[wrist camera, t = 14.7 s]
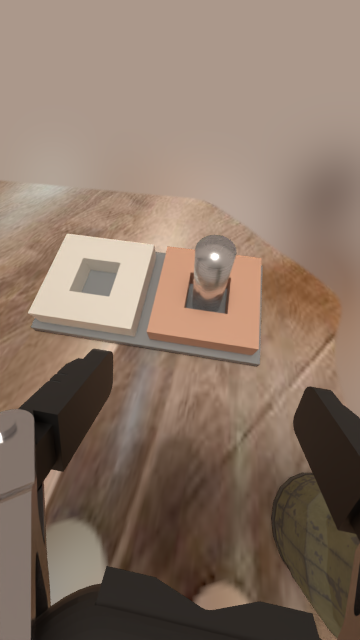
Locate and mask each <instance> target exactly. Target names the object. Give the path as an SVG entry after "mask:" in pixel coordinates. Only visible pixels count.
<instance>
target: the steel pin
mask: <svg viewBox="0 0 360 640" xmlns="http://www.w3.org/2000/svg"><path fill="white" fill-rule="evenodd" d="M235 257H236V247H235V245H234V244H233V242H232V241H231V240H229V239H228V238H226V237H224V236H220V235H210V236H206V237H204V238H202V239H201V240H200V241H199V242H198V243H197V245H196V248H195V263H194V281H193V300H192V305H193V308H194V309H197V310H203V311H210V312H217V311H218V310H219V308H220V305H221V302H222V298H223V295H224V292H225V289H226V286H227V282H228V279H229V276H230V273H231V270H232V267H233V263H234V260H235Z"/></svg>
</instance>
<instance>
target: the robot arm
mask: <svg viewBox="0 0 360 640" xmlns="http://www.w3.org/2000/svg"><path fill="white" fill-rule="evenodd" d="M112 384H113V353H112V352H111V351H105V350H99V349H92V350H91V351H90V352H89V353H88V354H87V355H86V356H85V357H84V358H83V359H80V358H78V359H76V360H74V361H72V362H70V363H68V364H66V365H65V366H64V367H63V368H62V369H60V370H59V371H58V372H57V374H55V375H54V376H53V377H52V378H51V379H50V381H48V382H47V383H45V384H44V385H43V386H42V387H41V388H40V389H39V390H38V391H37V392H36V393H35V394H34V395H33V396H31V397H30V398H29V399H28V400H27V401H26V402H25V403H24V404H23V405H22V406H21V407H20V408H19V409H12V410H6V411H2V412H0V640H321V639H320V638H319V635H318V632H317V628H316V625H315V621H314V617H313V614H312V613H308V612H303V611H299V610H295V609H290V608H286V607H282V606H277V605H273V604H269V603H264V602H254V603H249V604H243V605H238V606H232V607H227V608H222V609H216V610H205V609H203V608H201V607H200V606H198V605H197V604H195V603H194V602H192V601H191V600H189V599H188V598H186V597H184V596H183V595H181V594H180V593H178V592H177V591H175V590H174V589H172V588H171V587H169V586H168V585H166V584H165V583H163V582H162V581H160V580H159V579H157V578H156V577H152V576H147V575H143V574H139V573H134V572H130V571H126V570H121V569H117V568H113V567H108V566H107V567H106V570H105V574H104V577H103V580H102V584H96V585H92V586H89V587H86V588H83V589H80V590H78V591H76V592H74V593H72V594H70V595H68V596H66V597H64V598H63V599H61V600H60V601H58V602H57V603H55V604H54V605H52V606H51V605H50V604H51V602H50V584H49V571H48V561H47V548H46V523H45V498H44V482H43V481H44V479H45V478H46V476H47V475H48V473H49V472H50V470H51V469H53V470H57V471H62V472H64V470H65V468H66V467H67V465H68V463H69V462H70V460H71V458H72V457H73V455H74V453H75V452H76V450H77V448H78V447H79V445H80V443H81V442H82V440H83V438H84V437H85V435H86V433H87V432H88V430H89V428H90V427H91V425H92V423H93V422H94V420H95V418H96V417H97V415H98V414H99V412H100V410H101V409H102V407H103V405H104V404H105V402H106V400H107V399H108V397H109V395H110V392H111V389H112ZM293 426H294V431H295V434H296V436H297V438H298V441H299V443H300V445H301V447H302V450H303V452H304V454H305V457H306V459H307V461H308V463H309V466H310V468H311V470H312V473H313V475H314V477H315V479H316V482H317V484H318V486H319V489H320V491H321V493H322V495H323V498H324V500H325V502H326V505H327V507H328V509H329V511H330V514H331V516H332V518H333V521H334V523H335V525H336V527H337V530H339V531H344V532H349V533H353V534H356V535H357V537H358V539H359V541H360V418H359V417H358V416H357V415H355V414H354V413H353V412H352V411H350V410H349V409H348V408H347V407H345V406H343V405H342V403H341V402H340V401H339V399H338V398H337V397H336V396H335V394H334V393H333V392H332V391H331V390H327V389H321V388H316V387H307V388H306V389H305V391H304V394H303V396H302V398H301V401H300V403H299V406H298V408H297V410H296V413H295V415H294V420H293ZM337 640H360V543H359V544H358V546H357V547H356V550H355V555H354V562H353V568H352V575H351V581H350V588H349V594H348V600H347V607H346V613H345V619H344V623H343V626H342V629H341V631H340V633H339V635H338V637H337Z"/></svg>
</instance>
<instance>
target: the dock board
mask: <svg viewBox="0 0 360 640" xmlns="http://www.w3.org/2000/svg"><path fill="white" fill-rule="evenodd" d="M194 263H195V250H192V249H184V248H176V247H169V246H168V247H167V251H166V253H159V252H155V246H154V245H153V244H145V243H137V242H129V241H121V240H113V239H105V238H97V237H89V236H81V235H74V234H67V235H66V237H65V239H64V241H63V243H62V245H61V247H60V249H59V251H58V253H57V255H56V257H55V259H54V261H53V263H52V265H51V267H50V269H49V271H48V274H47V276H46V278H45V280H44V282H43V284H42V286H41V288H40V290H39V292H38V294H37V296H36V298H35V300H34V302H33V304H32V306H31V308H30V310H29V312H28V313H29V314H30V315H32V316H33V317H35V319H34V321H33V323H32V326H31V328H33V329H34V330H38V331H44V332H50V333H56V334H62V335H68V336H74V337H81V338H87V339H93V340H99V341H105V342H111V343H117V344H124V345H130V346H136V347H142V348H148V349H154V350H160V351H166V352H173V353H179V354H185V355H191V356H197V357H203V358H209V359H216V360H222V361H228V362H234V363H240V364H246V365H252V366H258V365H260V337H261V299H262V266H261V258H256V257H248V256H240V255H236V257H235V260H234V263H233V267H232V270H231V273H230V276H229V279H228V282H227V286H226V289H225V292H224V295H223V298H222V302H221V305H220V308H219V310H218V311H217V312H210V311H203V310H197V309H194V308H193V305H192V300H193V281H194Z"/></svg>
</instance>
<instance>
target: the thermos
mask: <svg viewBox="0 0 360 640" xmlns="http://www.w3.org/2000/svg"><path fill="white" fill-rule="evenodd" d="M271 519H272V528H273V536H274V540H275V542H276V545H277V548H278V551H279V553H280V556H281V558H282V559H283V561H284V562H285V564H286V565H287V567H288V568H289V570H290V571H291V574H292V576H293V578H294V579H295V581H296V582H297V584H298V585H299V587H300V588H301V590H302V591H303V593H304V595H305V596H306V598H307V599H308V600H309V602H310V603H311V605H312V606H313V608H314V609H315V610H316V612H317V613H318V615H319V616H320V618H321V619H322V620H323V622H324V623H325V625H326V626H327V628H328V629H329V630H330V631H331V632H332V633H333V635H334V636H335V637H336V638H337V637H338V635H339V633H340V631H341V629H342V626H343V623H344V619H345V613H346V607H347V600H348V594H349V588H350V581H351V575H352V568H353V562H354V555H355V550H356V547H357V546H358V544H359V543H360V541H359V539H358V537H357V535H356V534H353V533H349V532H344V531H339V530H337V527H336V525H335V523H334V521H333V518H332V516H331V514H330V511H329V509H328V507H327V505H326V502H325V500H324V498H323V495H322V493H321V491H320V489H319V486H318V484H317V482H316V479H315V477H314V475H313V473H301V474H298V475H296V476H293V477H290V478H289V479H288V480H287V481H286V482H285V483H284V484H283V485H282V486H281V487H280V489H279V491H278V493H277V495H276V497H275V499H274V503H273V510H272V517H271Z"/></svg>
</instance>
